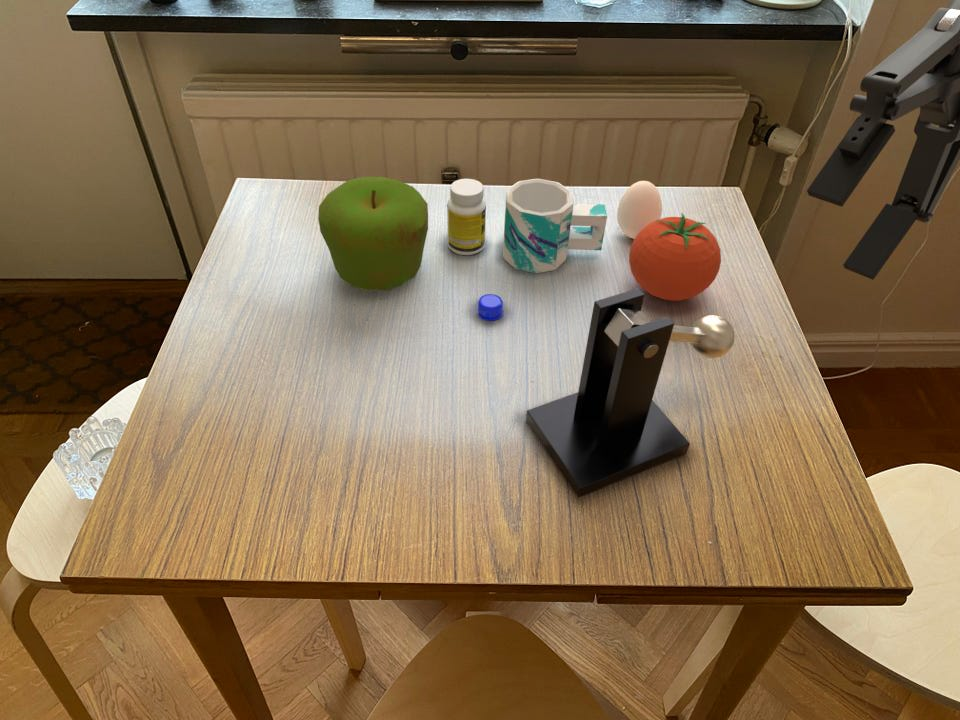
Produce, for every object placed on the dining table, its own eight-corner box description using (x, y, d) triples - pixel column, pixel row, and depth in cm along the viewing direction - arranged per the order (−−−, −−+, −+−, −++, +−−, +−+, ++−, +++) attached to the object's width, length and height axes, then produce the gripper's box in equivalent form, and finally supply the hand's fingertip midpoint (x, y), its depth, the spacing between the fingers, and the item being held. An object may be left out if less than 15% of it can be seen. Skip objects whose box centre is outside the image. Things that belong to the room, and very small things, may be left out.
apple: (314, 257, 87) (300, 176, 79) (405, 233, 92) (401, 153, 84) (349, 318, 80) (337, 234, 72) (447, 288, 84) (446, 206, 76)
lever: (699, 341, 68) (722, 308, 66) (726, 368, 66) (751, 334, 64) (593, 332, 60) (616, 293, 58) (619, 362, 57) (645, 323, 55)
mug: (502, 233, 92) (506, 176, 86) (594, 236, 92) (604, 179, 86) (503, 272, 86) (507, 213, 80) (601, 275, 86) (612, 216, 80)
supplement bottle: (488, 254, 89) (490, 195, 83) (451, 258, 88) (450, 199, 82) (480, 232, 92) (482, 174, 86) (444, 236, 91) (443, 178, 86)
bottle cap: (489, 300, 82) (489, 288, 81) (508, 312, 81) (509, 300, 80) (471, 312, 81) (471, 300, 80) (491, 324, 79) (491, 313, 78)
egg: (610, 223, 94) (620, 170, 89) (651, 224, 94) (663, 171, 89) (616, 248, 90) (626, 193, 85) (658, 249, 91) (672, 194, 85)
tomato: (623, 314, 81) (639, 242, 74) (621, 261, 89) (636, 191, 82) (714, 322, 81) (738, 250, 74) (704, 268, 88) (726, 198, 81)
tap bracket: (627, 383, 73) (657, 260, 62) (686, 453, 67) (732, 329, 56) (525, 420, 69) (538, 295, 58) (578, 498, 63) (604, 374, 52)
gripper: (964, 94, 68) (832, 281, 69) (937, -118, 49) (759, 144, 51) (1052, 113, 63) (908, 313, 65) (1060, -116, 44) (857, 174, 46)
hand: (842, 239), depth 58 cm, fingers open, 13 cm apart
